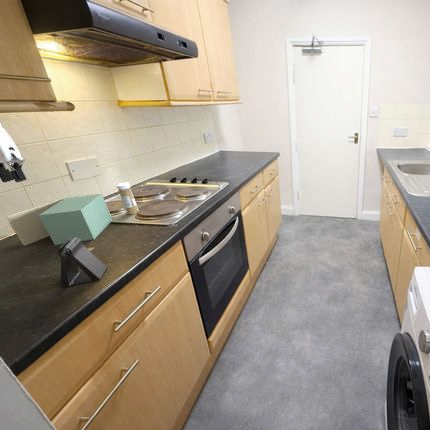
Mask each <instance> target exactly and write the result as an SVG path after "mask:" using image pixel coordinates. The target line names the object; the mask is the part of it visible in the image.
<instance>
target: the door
mask: <svg viewBox="0 0 430 430" xmlns="http://www.w3.org/2000/svg"><path fill="white" fill-rule="evenodd" d="M65 198H66V197H65ZM65 198H64V197H63V198H60V199H57V200H54V201H50V202H47V203H43V204H41V205H37V206H34V207H31V208H28V209H25V210H22V211H19V212H15V213H12V214H9V215H6V218H7V220H8V222H9V225H10V226H11V228H12V230H13V232H14V233H15V235H16V236H17V238H18V239H19V240H20V241H21V243H22V245H23V246H24V247H25V246H28V245H31V244H33V243H36V242H38V241H40V240H43V239H45V238H47V237H50V235H49V234H48V232H47V230H46V228H45V226H44V224H43V223H42V221H41V219H40V217H39V215H40V214H41V213H43V212H44V211H46V210H48V209H49V208H51V207H52V206H54V205H55V204H57V203H59V202H60V201H62V200H63V199H65Z"/></svg>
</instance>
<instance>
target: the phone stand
mask: <svg viewBox="0 0 430 430" xmlns="http://www.w3.org/2000/svg"><path fill="white" fill-rule="evenodd" d="M70 239H71V238H69V239H68V240H67V241H66V242H65V243H64V244H61V246H60V247H59V248H58V249H57V251H56V253H57V255H58V256H59V259H60V288H62V289H63V288H64V289H65V288H70V287H73V286H79V285H85V284H89V283H94V282H98V281H100V280H101V279H102V278H103V276H104V274H105V273H106V271H107V269H108V266H107V265H106V264H105V263H103V262H102V261H101V260H100V259H99V257H97V255H95V254H93V252H92V251H91V250H89V249H88V247H86V246H85V245H84V243H83V241H82V240H81V239H80V238H78V237H74V238H73V239H72V240H71V241H70ZM79 269H81V270H82V271H81V272H79Z"/></svg>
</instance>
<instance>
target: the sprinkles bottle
mask: <svg viewBox="0 0 430 430" xmlns="http://www.w3.org/2000/svg"><path fill="white" fill-rule="evenodd" d="M116 189H117V191H118V193H119V195H120V198H121V201H122V203H123V207H124V208H125V210H126V214H127V215H135V214H138V213H139V212H140V209H139V208H138V205H137V202H136V200H135V197H134V194H133V192H132V189H131V183H130V182H120V183H117V184H116ZM138 211H139V212H138ZM137 212H138V213H137Z"/></svg>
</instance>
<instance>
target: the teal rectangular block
mask: <svg viewBox="0 0 430 430" xmlns="http://www.w3.org/2000/svg"><path fill="white" fill-rule="evenodd" d="M62 199H63V198H62ZM39 217H40V219H41V221H42V223H43V224H44V226H45V228H46V230H47V232H48V234H49V235H50V236H49V238H50V239H51V241H52V243H53V244H54V246H57V245H63V244H64V243H65V242H66V241H67V240H68V239H69V238H71V239H70V241H71V240H72V239H73V238H74V237H78V238H80V239H81V240H82V242H84V241H85V242H86V241H92V240H95V239H96V238H97V237H98V236H99V235H100V234H101V233H102V232H103V231H104V230H105V229H106V228H107V226H108V225H110V223H111V222H112V221H113V218H112V215H111V213H110V210H109V208H108V205H107V203H106V201H105V198H104V196H103V194H102V193H97V194H88V195H79V196H69V197H65V199H63V200H62V201H60V202H59V203H57V204H55V205H54V206H52V207H51V208H49V209H48V210H46V211H44V212H43V213H41V214H40V215H39ZM110 221H111V222H110Z"/></svg>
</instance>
